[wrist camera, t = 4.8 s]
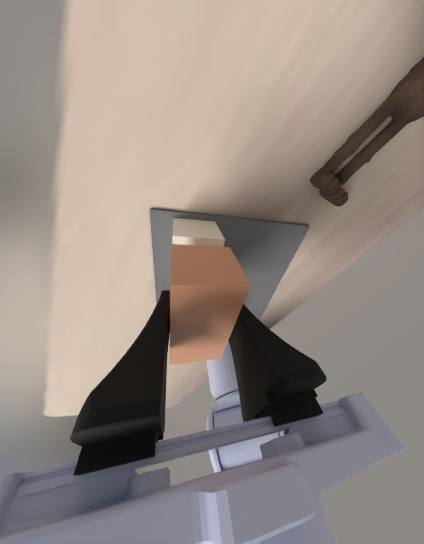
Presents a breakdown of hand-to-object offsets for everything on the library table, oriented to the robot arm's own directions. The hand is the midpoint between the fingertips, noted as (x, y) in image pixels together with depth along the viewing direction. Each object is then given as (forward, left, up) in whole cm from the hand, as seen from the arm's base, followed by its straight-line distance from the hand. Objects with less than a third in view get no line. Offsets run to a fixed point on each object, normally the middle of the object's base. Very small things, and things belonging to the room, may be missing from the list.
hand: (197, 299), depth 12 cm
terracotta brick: (0, 0, -1) cm, 1 cm away
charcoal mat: (-4, -5, -7) cm, 9 cm away
